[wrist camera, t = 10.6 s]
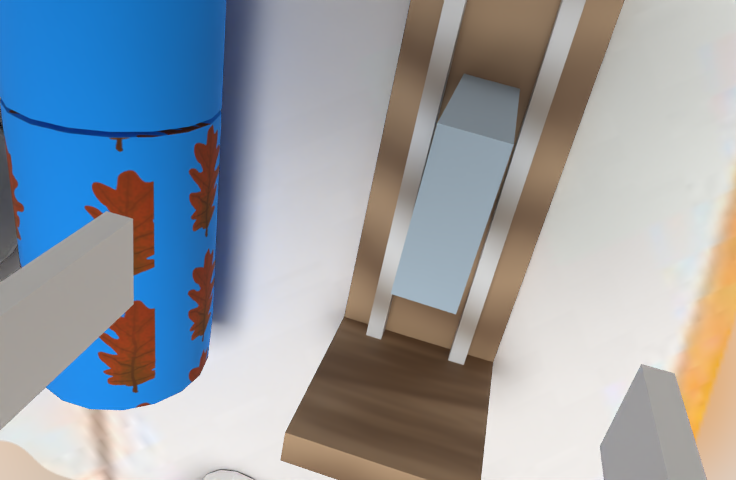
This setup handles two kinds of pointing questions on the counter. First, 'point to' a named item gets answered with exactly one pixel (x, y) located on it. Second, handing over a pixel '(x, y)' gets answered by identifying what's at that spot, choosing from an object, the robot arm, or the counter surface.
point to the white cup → (226, 476)
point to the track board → (493, 259)
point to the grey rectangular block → (457, 192)
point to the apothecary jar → (6, 207)
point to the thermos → (121, 170)
